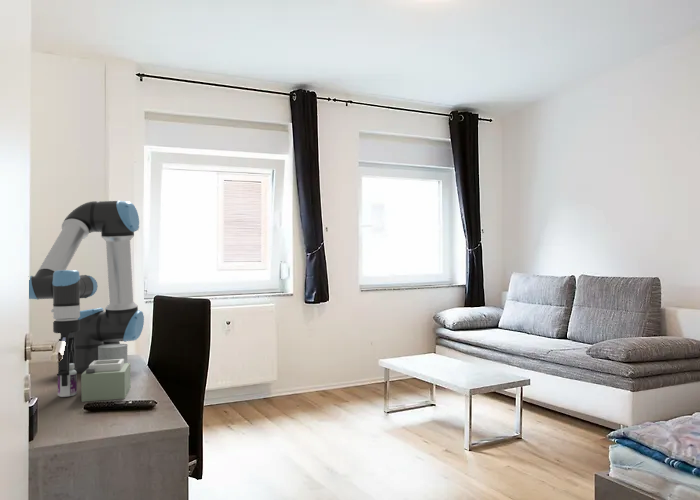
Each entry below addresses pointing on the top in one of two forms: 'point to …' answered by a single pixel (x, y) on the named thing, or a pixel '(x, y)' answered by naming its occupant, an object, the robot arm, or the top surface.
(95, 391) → the green open box
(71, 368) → the pill bottle
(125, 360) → the speckled grey cylinder
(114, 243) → the robot arm
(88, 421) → the top surface
